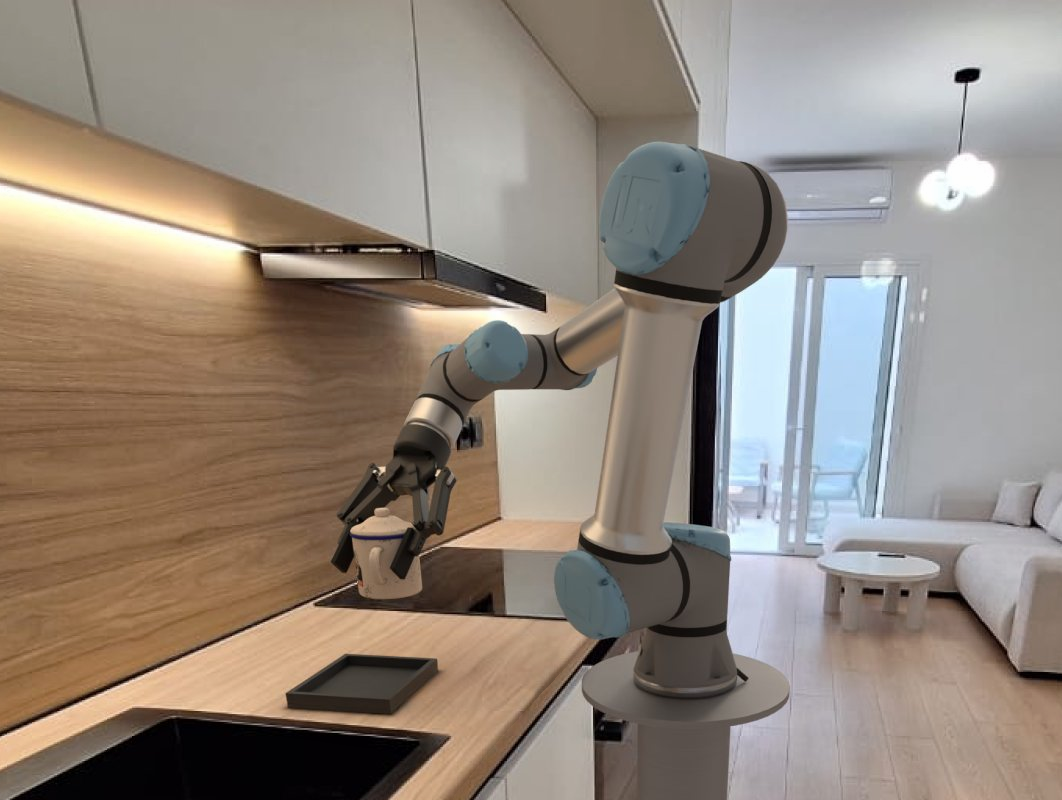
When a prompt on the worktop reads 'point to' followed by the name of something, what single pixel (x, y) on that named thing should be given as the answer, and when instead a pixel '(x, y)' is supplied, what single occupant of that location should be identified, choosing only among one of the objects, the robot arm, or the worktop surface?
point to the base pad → (363, 683)
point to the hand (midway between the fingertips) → (367, 570)
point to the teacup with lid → (382, 557)
